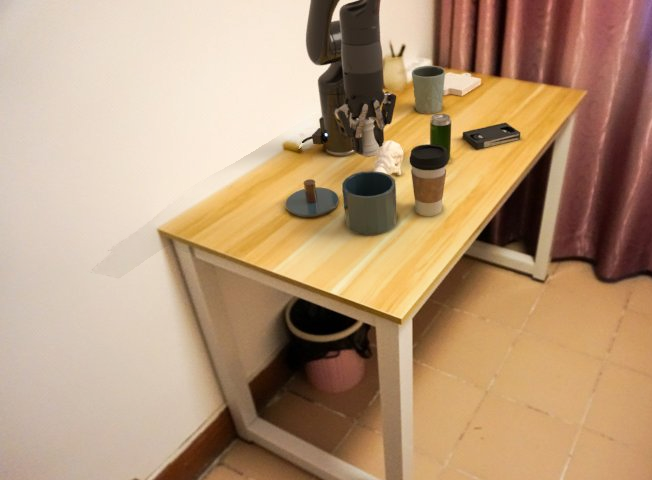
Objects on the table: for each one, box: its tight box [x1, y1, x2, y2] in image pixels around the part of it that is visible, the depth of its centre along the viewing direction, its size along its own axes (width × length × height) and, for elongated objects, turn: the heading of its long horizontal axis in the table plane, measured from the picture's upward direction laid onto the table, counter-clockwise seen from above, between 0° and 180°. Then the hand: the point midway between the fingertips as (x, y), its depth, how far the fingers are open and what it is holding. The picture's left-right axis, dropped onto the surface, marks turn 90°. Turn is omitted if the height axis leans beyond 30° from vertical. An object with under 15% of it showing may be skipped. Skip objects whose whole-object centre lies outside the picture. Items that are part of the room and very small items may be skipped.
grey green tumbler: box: [411, 65, 446, 115], centre depth 168 cm, size 10×10×12 cm
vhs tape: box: [462, 122, 521, 150], centre depth 152 cm, size 14×8×2 cm, turn 114°
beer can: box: [429, 113, 452, 163], centre depth 140 cm, size 5×5×12 cm
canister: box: [341, 170, 398, 236], centre depth 119 cm, size 11×11×10 cm
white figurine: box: [372, 139, 405, 176], centre depth 134 cm, size 6×8×12 cm
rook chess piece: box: [360, 117, 379, 158], centre depth 108 cm, size 4×4×8 cm
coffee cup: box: [409, 143, 449, 217], centre depth 120 cm, size 8×8×15 cm
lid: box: [285, 178, 339, 218], centre depth 126 cm, size 12×12×6 cm
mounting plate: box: [443, 71, 482, 97], centre depth 186 cm, size 18×13×2 cm
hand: (368, 148), depth 110 cm, fingers closed on rook chess piece, 4 cm apart
